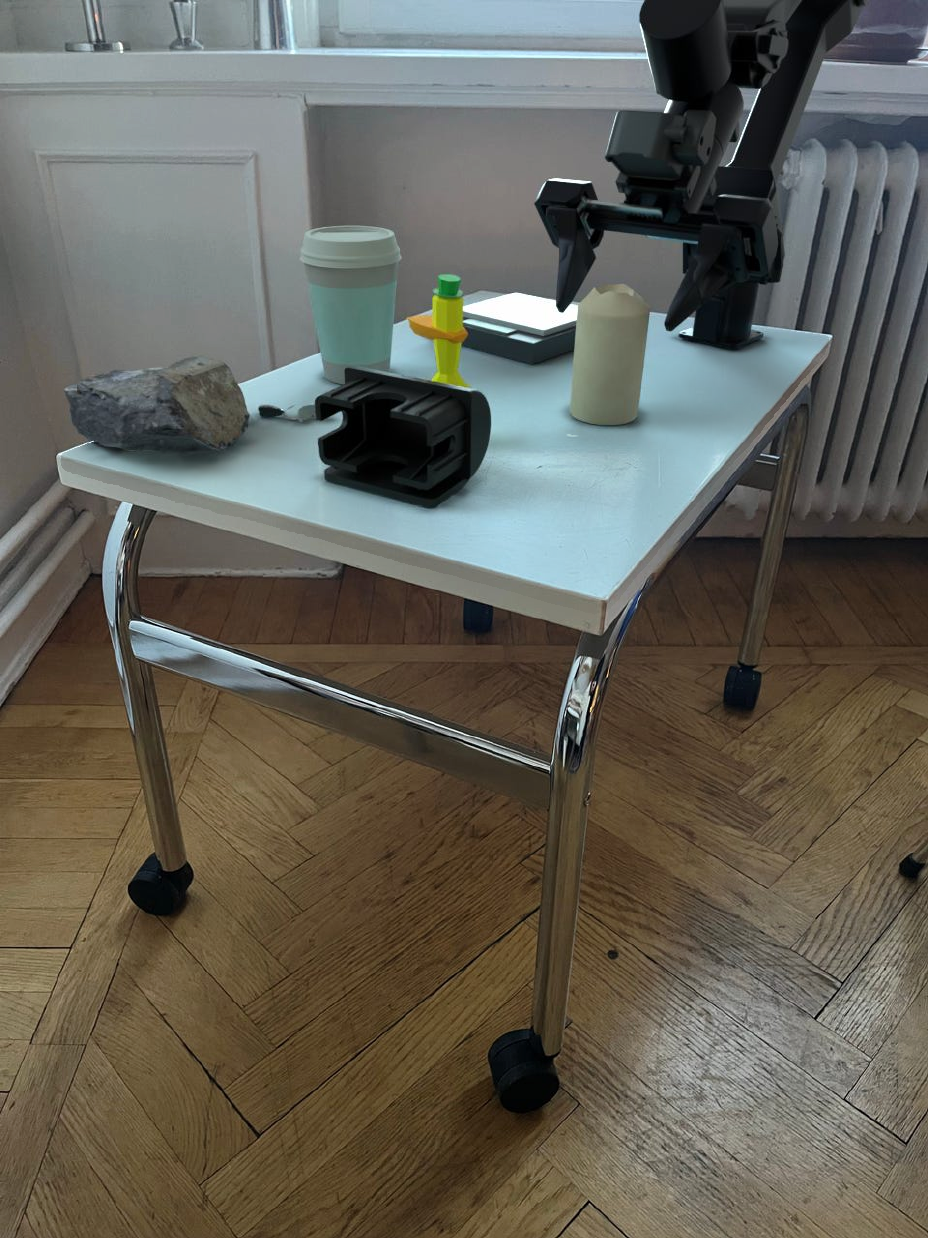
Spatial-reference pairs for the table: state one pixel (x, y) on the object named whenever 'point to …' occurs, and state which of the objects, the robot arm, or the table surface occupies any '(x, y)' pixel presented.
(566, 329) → the scale
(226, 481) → the table surface
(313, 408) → the toy
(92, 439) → the rock
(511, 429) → the table surface
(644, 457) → the table surface
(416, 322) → the toy figure
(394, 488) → the end cap
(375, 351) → the coffee cup
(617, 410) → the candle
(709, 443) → the table surface
